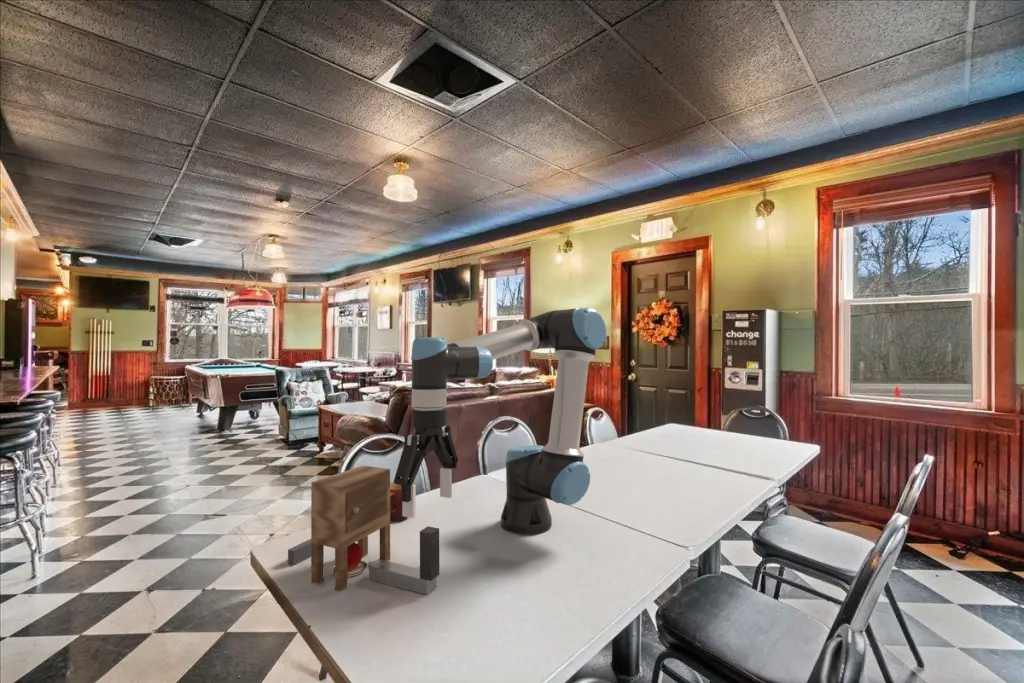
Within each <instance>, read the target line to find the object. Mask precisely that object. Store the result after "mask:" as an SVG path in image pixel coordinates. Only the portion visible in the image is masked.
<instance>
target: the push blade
mask: <svg viewBox="0 0 1024 683" xmlns="http://www.w3.org/2000/svg"><path fill="white" fill-rule="evenodd" d="M439 575H440V528H439V527H435V526H434V527H433V526H426V527H424V528H423V529H421V530H419V568H417V567H413V566H409V565H404V564H401V563H396V562H392V561H390V560H389V561H385V560H381V559H380V558H379V559H377V560H375V561H374V562H372V563H371V564H369V565H368V580H372V581H373V582H374V581H375V582H379V583H383V584H386V585H390V586H393V587H395V588H396V587H397V588H401V589H403V590H404V589H405V590H408V591H412V592H415V593H420V594H422V595H426V596H427V595H429V594H430V593H431V592H432V591H433V590H434V589H435V588H437V577H438V576H439Z"/></svg>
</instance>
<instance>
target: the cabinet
mask: <svg viewBox="0 0 1024 683" xmlns="http://www.w3.org/2000/svg"><path fill="white" fill-rule="evenodd" d="M390 482H391V469H390V468H384V467H376V466H369V465H363V464H362V465H359V466H357V467H356V466H355V467H353V468H351V469H347V470H345V471H342V472H338V473H336V474H333V475H329V476H327V477H323V478H321V479H318V480H315V481H312V482H311V484H310V485H311V488H310V489H311V490H310V491H311V492H310V493H311V495H310V497H311V500H310V502H311V503H310V504H311V509H310V510H311V512H310V514H311V516H310V517H311V518H310V519H311V522H310V524H311V525H310V526H311V527H310V528H311V529H310V532H311V533H310V534H311V536H310V539H311V557H310V558H311V560H310V561H311V563H310V564H311V565H310V566H311V568H310V569H311V570H310V572H311V573H310V574H311V576H310V578H311V579H310V582H311V584H314V585H319V584H320V583H322V582H324V580H325V579H324V568H325V567H324V562H325V561H324V559H325V558H324V552H325V551H324V546H325V547H327V548H332V549H334V567H335V575H334V590H336V591H338V592H343V591H344V590H347V589H348V577H347V546H349V545H351V544H353V543H357V544H358V545H359V546H360V547H361V549H362V553H363V555H362V558H364V557H367V555H369V535H371V534H373V533H375V532H377V531H379V559H381V560H385V561H389V562H390V561H391V521H390Z"/></svg>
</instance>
